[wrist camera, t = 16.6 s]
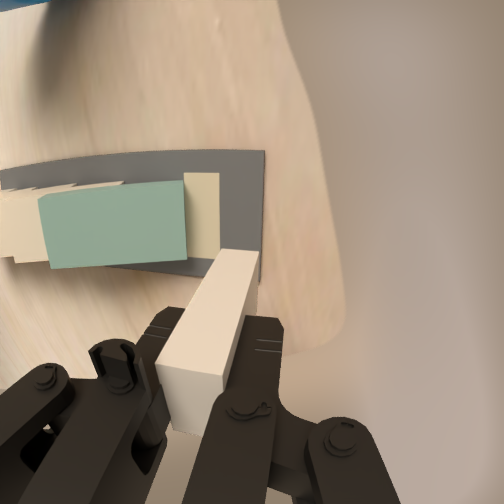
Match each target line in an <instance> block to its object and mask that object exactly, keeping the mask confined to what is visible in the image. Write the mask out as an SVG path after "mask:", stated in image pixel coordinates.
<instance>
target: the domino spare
mask: <svg viewBox="0 0 504 504" xmlns="http://www.w3.org/2000/svg"><path fill="white" fill-rule="evenodd" d="M37 200H38V207H39V213H40V219H41V225H42V231H43V236H44V241H45V245H46V250H47V255H48V259H49V263H50V267H51V269H60V268H75V267H89V266H103V265H117V264H131V263H146V262H159V261H173V260H187V248H186V232H185V211H184V184H183V180H176V181H160V182H147V183H135V184H124V185H114V186H104V187H95V188H87V189H79V190H71V191H64V192H57V193H50V194H46V195H44V196H42V197H41V198H39V199H37Z"/></svg>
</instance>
